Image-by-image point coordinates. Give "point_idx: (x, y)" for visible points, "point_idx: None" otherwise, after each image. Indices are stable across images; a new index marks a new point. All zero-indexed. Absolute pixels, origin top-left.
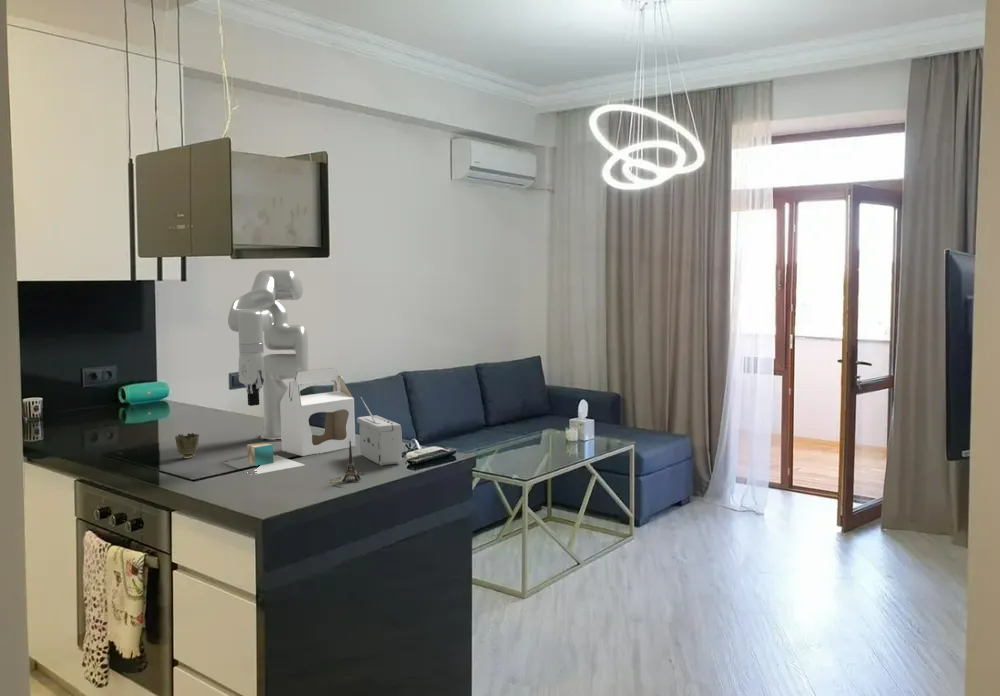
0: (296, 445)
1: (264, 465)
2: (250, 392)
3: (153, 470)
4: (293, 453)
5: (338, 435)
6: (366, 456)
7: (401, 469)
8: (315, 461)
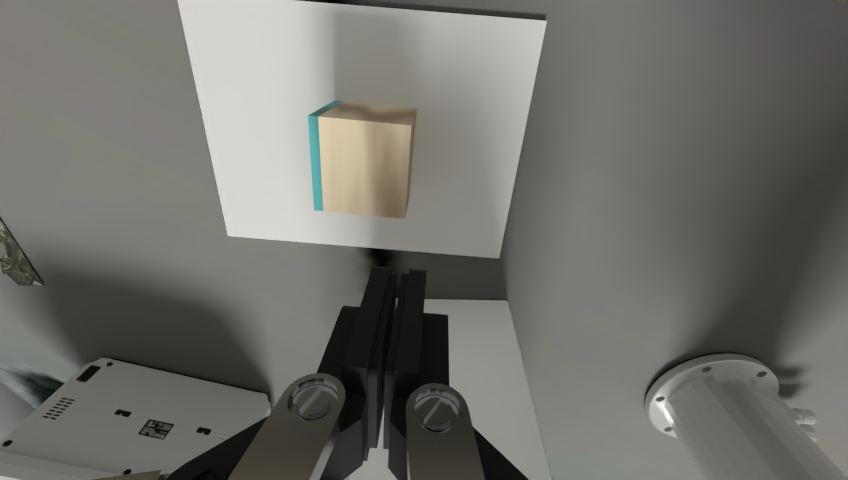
0: None
1: None
2: (338, 393)
3: None
4: (428, 300)
5: None
6: (214, 385)
7: (40, 363)
8: (277, 287)
